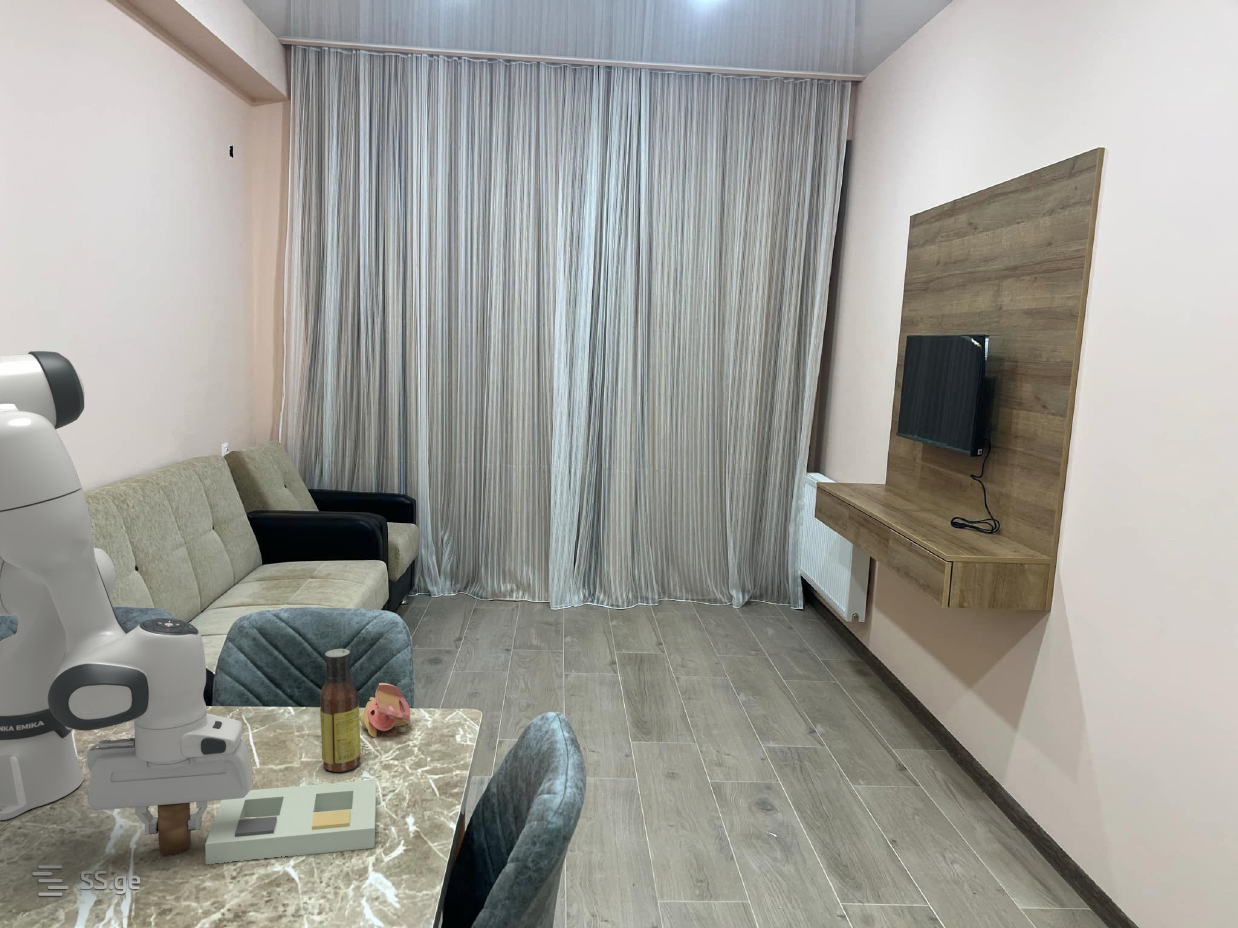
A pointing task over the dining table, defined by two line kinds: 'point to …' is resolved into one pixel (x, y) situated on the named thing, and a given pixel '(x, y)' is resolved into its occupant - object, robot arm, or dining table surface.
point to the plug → (173, 828)
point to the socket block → (294, 822)
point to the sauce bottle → (339, 714)
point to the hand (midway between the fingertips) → (174, 830)
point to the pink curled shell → (385, 710)
